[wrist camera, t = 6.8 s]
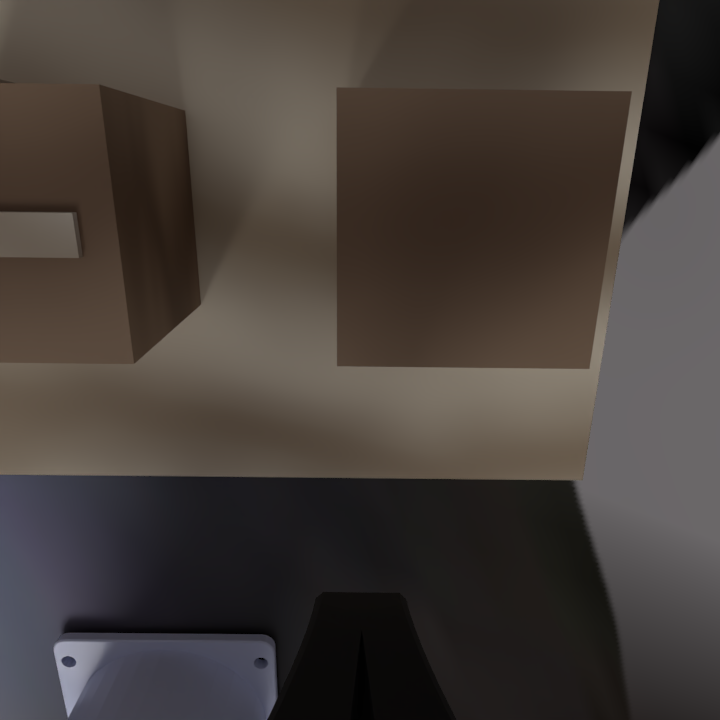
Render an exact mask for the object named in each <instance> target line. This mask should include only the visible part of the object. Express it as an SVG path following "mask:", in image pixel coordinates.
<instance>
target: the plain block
mask: <svg viewBox="0 0 720 720" xmlns="http://www.w3.org/2000/svg"><path fill="white" fill-rule="evenodd" d="M631 95H632V91H569V90H494V89H418V88H342V87H336V100H337V366H354V367H447V368H540V369H589V368H590V362H591V355H592V349H593V342H594V336H595V329H596V323H597V316H598V310H599V303H600V297H601V290H602V284H603V277H604V271H605V264H606V258H607V251H608V245H609V238H610V232H611V225H612V219H613V212H614V206H615V199H616V192H617V186H618V179H619V173H620V166H621V160H622V153H623V147H624V140H625V134H626V127H627V121H628V114H629V108H630V101H631Z"/></svg>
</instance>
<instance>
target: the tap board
mask: <svg viewBox="0 0 720 720" xmlns="http://www.w3.org/2000/svg"><path fill="white" fill-rule="evenodd" d="M658 6H659V0H0V79H1V80H5V81H9V82H13V83H40V84H100V85H103V86H106V87H109V88H113V89H116V90H119V91H123V92H126V93H129V94H132V95H136V96H139V97H142V98H145V99H149V100H152V101H155V102H158V103H162V104H165V105H168V106H172V107H175V108H178V109H181V110H185V115H186V127H187V139H188V151H189V164H190V176H191V188H192V200H193V212H194V225H195V237H196V249H197V261H198V274H199V286H200V298H201V305H200V306H199V307H198V308H197V309H196V310H194V311H193V312H192V313H191V314H190V315H189V316H188V317H187V318H185V319H184V320H183V321H182V322H181V323H180V324H179V325H178V326H176V327H175V328H174V329H173V330H172V331H171V332H170V333H169V334H167V335H166V336H165V337H164V338H163V339H162V340H161V341H160V342H158V343H157V344H156V345H155V346H154V347H153V348H152V349H151V350H149V351H148V352H147V353H146V354H145V355H144V356H143V357H142V358H140V359H139V360H138V361H137V362H136V363H135V364H76V363H0V475H101V476H203V477H305V478H407V479H508V480H583V474H584V467H585V461H586V455H587V449H588V442H589V436H590V430H591V424H592V417H593V411H594V405H595V399H596V393H597V386H598V380H599V373H600V367H601V361H602V354H603V349H604V343H605V336H606V330H607V324H608V318H609V311H610V305H611V299H612V292H613V286H614V280H615V274H616V268H617V261H618V255H619V249H620V243H621V236H622V230H623V224H624V218H625V212H626V205H627V199H628V193H629V187H630V180H631V174H632V168H633V162H634V155H635V149H636V143H637V137H638V130H639V124H640V118H641V112H642V105H643V99H644V93H645V87H646V80H647V74H648V68H649V62H650V55H651V49H652V43H653V37H654V31H655V24H656V18H657V12H658ZM336 87H342V88H418V89H494V90H569V91H632V95H631V101H630V108H629V114H628V121H627V127H626V134H625V140H624V147H623V153H622V160H621V166H620V173H619V179H618V186H617V192H616V199H615V206H614V212H613V219H612V225H611V232H610V238H609V245H608V251H607V258H606V264H605V271H604V277H603V284H602V290H601V297H600V303H599V310H598V316H597V323H596V329H595V336H594V342H593V349H592V355H591V362H590V368H589V369H540V368H447V367H354V366H337V100H336Z"/></svg>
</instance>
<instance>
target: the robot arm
mask: <svg viewBox="0 0 720 720" xmlns="http://www.w3.org/2000/svg"><path fill="white" fill-rule="evenodd" d="M53 650H54V655H55V659H56V664H57V669H58V674H59V678H60V683H61V688H62V692H63V697H64V702H65V707H66V711H67V716H68V719H67V720H456V718H455V716H454V714H453V712H452V710H451V708H450V706H449V704H448V702H447V700H446V698H445V696H444V694H443V692H442V690H441V688H440V686H439V684H438V682H437V679H436V677H435V675H434V673H433V671H432V669H431V666H430V664H429V662H428V659H427V657H426V655H425V652H424V650H423V648H422V645H421V643H420V640H419V638H418V635H417V632H416V630H415V627H414V624H413V621H412V618H411V615H410V612H409V609H408V605H407V601H406V599H405V598H404V597H403V596H402V595H401V594H400V593H342V592H323V593H322V594H321V595H319V596H318V597H317V598H316V601H315V605H314V609H313V613H312V616H311V619H310V622H309V625H308V628H307V631H306V634H305V636H304V639H303V641H302V644H301V646H300V649H299V651H298V654H297V656H296V659H295V661H294V663H293V666H292V668H291V670H290V672H289V675H288V677H287V679H286V681H285V683H284V685H283V687H282V690H281V692H280V694H279V696H278V690H277V669H276V648H275V642H274V640H273V639H272V638H271V637H269V636H267V635H263V634H166V633H64V634H62V635H61V636H60V637H59V638H58V640H57V641H56V643H55V644H54V649H53ZM71 657H72V658H71ZM258 658H264V659H265V660H261V659H258Z"/></svg>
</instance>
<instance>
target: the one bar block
mask: <svg viewBox="0 0 720 720" xmlns="http://www.w3.org/2000/svg"><path fill="white" fill-rule="evenodd" d="M200 305H201V298H200V286H199V274H198V261H197V249H196V237H195V225H194V212H193V200H192V188H191V176H190V164H189V151H188V139H187V127H186V115H185V110H181V109H178V108H175V107H172V106H168V105H165V104H162V103H158V102H155V101H152V100H149V99H145V98H142V97H139V96H136V95H132V94H129V93H126V92H123V91H119V90H116V89H113V88H109V87H106V86H103V85H100V84H40V83H13V82H9V81H5V80H1V79H0V363H76V364H135V363H136V362H137V361H138V360H139V359H140V358H142V357H143V356H144V355H145V354H146V353H147V352H148V351H149V350H151V349H152V348H153V347H154V346H155V345H156V344H157V343H158V342H160V341H161V340H162V339H163V338H164V337H165V336H166V335H167V334H169V333H170V332H171V331H172V330H173V329H174V328H175V327H176V326H178V325H179V324H180V323H181V322H182V321H183V320H184V319H185V318H187V317H188V316H189V315H190V314H191V313H192V312H193V311H194V310H196V309H197V308H198V307H199V306H200Z"/></svg>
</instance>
